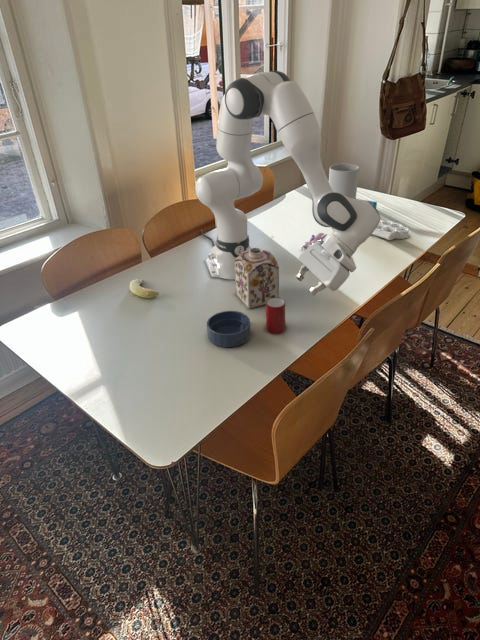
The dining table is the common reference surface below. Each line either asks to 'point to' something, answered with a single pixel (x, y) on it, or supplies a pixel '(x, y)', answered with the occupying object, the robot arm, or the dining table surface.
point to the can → (275, 315)
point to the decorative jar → (256, 277)
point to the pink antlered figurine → (314, 240)
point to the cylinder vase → (344, 179)
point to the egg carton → (390, 230)
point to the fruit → (142, 289)
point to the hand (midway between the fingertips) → (304, 286)
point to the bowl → (228, 328)
